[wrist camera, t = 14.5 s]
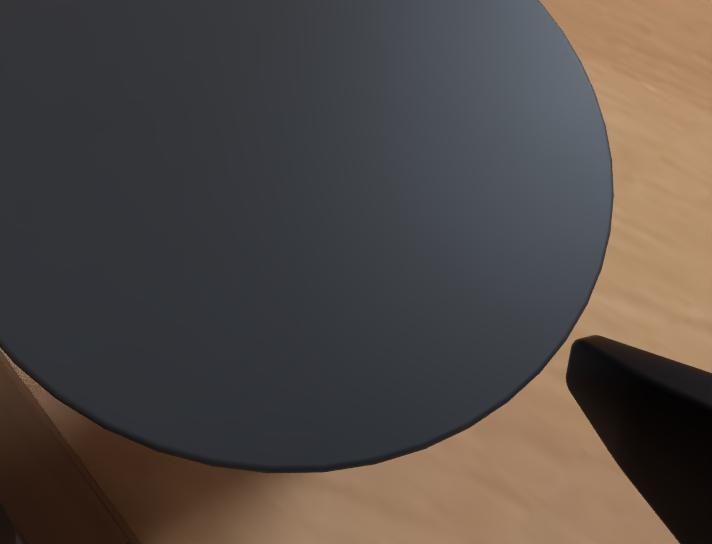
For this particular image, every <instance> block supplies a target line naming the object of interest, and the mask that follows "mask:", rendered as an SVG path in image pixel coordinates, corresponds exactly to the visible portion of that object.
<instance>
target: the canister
mask: <svg viewBox="0 0 712 544" xmlns="http://www.w3.org/2000/svg"><path fill="white" fill-rule="evenodd" d="M613 197H614V194H613V173H612V158H611V153H610V148H609V142H608V137H607V131H606V126H605V123H604V120H603V116H602V113H601V110H600V107H599V104H598V101H597V97H596V94H595V92H594V90H593V87H592V85H591V83H590V81H589V79H588V76H587V74H586V72H585V70H584V68H583V65H582V63H581V61H580V59H579V58H578V56H577V54H576V53H575V51H574V49H573V48H572V46H571V44H570V43H569V41H568V39H567V38H566V36H565V34H564V33H563V31H562V30H561V29H560V27H559V26H558V25H557V23H556V22H555V21H554V19H553V18H552V17H551V15H550V14H549V13H548V11H547V10H546V9H545V7H544V6H543V5H542V4H541V3H540V1H539V0H0V347H1V349H2V350H3V351H4V352H5V353H6V354H7V355H8V357H9V358H10V359H11V360H12V361H13V362H14V364H16V365H17V366H18V367H19V368H20V369H22V370H23V371H24V372H25V373H26V374H27V375H29V376H30V377H31V378H32V379H33V380H35V381H36V382H37V383H38V384H39V385H41V386H42V387H43V388H44V389H45V390H46V391H48V392H49V393H50V394H51V395H52V396H54V397H55V398H56V399H57V400H59V401H61V402H62V403H64V404H65V405H67V406H69V407H70V408H72V409H74V410H75V411H77V412H78V413H80V414H82V415H83V416H85V417H87V418H88V419H90V420H91V421H93V422H95V423H96V424H98V425H100V426H101V427H103V428H104V429H107V430H109V431H111V432H114V433H116V434H118V435H121V436H123V437H125V438H128V439H130V440H132V441H134V442H137V443H139V444H141V445H144V446H146V447H148V448H151V449H153V450H155V451H158V452H162V453H165V454H169V455H173V456H177V457H180V458H184V459H188V460H191V461H195V462H199V463H202V464H206V465H210V466H215V467H223V468H231V469H239V470H247V471H255V472H263V473H310V472H328V471H335V470H341V469H347V468H354V467H360V466H367V465H373V464H378V463H381V462H384V461H387V460H391V459H394V458H397V457H400V456H404V455H407V454H410V453H413V452H417V451H420V450H423V449H426V448H428V447H430V446H432V445H434V444H436V443H439V442H441V441H443V440H445V439H447V438H449V437H451V436H453V435H455V434H458V433H460V432H462V431H464V430H466V429H468V428H470V427H471V426H473V425H474V424H476V423H477V422H479V421H480V420H482V419H483V418H485V417H486V416H488V415H489V414H491V413H492V412H494V411H495V410H497V409H498V408H500V407H501V406H503V405H504V404H506V403H507V402H508V401H509V400H511V399H512V398H513V397H514V396H515V395H516V394H517V393H518V392H519V391H520V390H522V389H523V388H524V387H525V386H526V385H527V384H528V383H529V382H530V381H531V380H533V379H534V378H535V377H536V376H537V375H538V374H539V373H540V372H541V371H542V370H543V368H544V367H545V366H546V365H547V363H548V362H549V361H550V360H551V358H552V357H553V356H554V355H555V354H556V352H557V351H558V350H559V349H560V347H561V346H562V345H563V344H564V342H565V341H566V340H567V338H568V336H569V335H570V333H571V331H572V330H573V328H574V326H575V325H576V323H577V321H578V319H579V318H580V316H581V314H582V313H583V311H584V309H585V307H586V306H587V304H588V301H589V299H590V296H591V294H592V291H593V289H594V286H595V284H596V281H597V279H598V276H599V274H600V271H601V269H602V265H603V261H604V257H605V252H606V248H607V244H608V240H609V236H610V231H611V219H612V208H613Z"/></svg>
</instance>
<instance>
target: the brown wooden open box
mask: <svg viewBox="0 0 712 544" xmlns="http://www.w3.org/2000/svg"><path fill="white" fill-rule="evenodd" d="M0 500H1V502H2V503H3V505H4V507H5V509H6V511H7V512H8V514H9V516H10V518H11V519H12V521H13V523H14V526H15V529H16V544H140V542H139V541H138V540H137V538H136V537H135V536H134V534H133V533H132V531H131V530H130V529H129V527H128V526H127V524H126V523H125V522H124V520H123V519H122V518H121V516H120V515H119V513H118V512H117V511H116V509H115V508H114V507H113V505H112V504H111V502H110V501H109V500H108V498H107V497H106V496H105V494H104V493H103V491H102V490H101V489H100V487H99V486H98V484H97V483H96V482H95V480H94V479H93V478H92V476H91V475H90V473H89V472H88V471H87V469H86V468H85V467H84V465H83V464H82V462H81V461H80V460H79V458H78V457H77V455H76V454H75V453H74V451H73V450H72V449H71V447H70V446H69V444H68V443H67V442H66V440H65V439H64V438H63V436H62V435H61V433H60V432H59V431H58V429H57V428H56V427H55V425H54V424H53V422H52V421H51V420H50V418H49V417H48V415H47V414H46V413H45V411H44V410H43V409H42V407H41V406H40V404H39V403H38V402H37V400H36V399H35V398H34V396H33V395H32V393H31V392H30V391H29V389H28V388H27V387H26V385H25V384H24V382H23V381H22V380H21V378H20V377H19V375H18V374H17V373H16V371H15V370H14V369H13V367H12V366H11V364H10V363H9V362H8V360H7V359H6V358H5V356H4V355H3V353H2V352H1V351H0Z"/></svg>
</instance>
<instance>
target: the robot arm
mask: <svg viewBox="0 0 712 544" xmlns="http://www.w3.org/2000/svg"><path fill="white" fill-rule="evenodd" d="M566 382H567V386H568V388H569V390H570V392H571V394H572V395H573V397H574V398H575V400H576V402H577V403H578V405H579V406H580V408H581V409H582V411H583V412H584V414H585V415H586V417H587V418H588V420H589V422H590V423H591V425H592V426H593V428H594V429H595V431H596V432H597V434H598V435H599V437H600V438H601V440H602V442H603V443H604V445H605V446H606V448H607V449H608V451H609V452H610V454H611V455H612V457H613V458H614V460H615V461H616V462H617V464H618V465H619V467H620V468H621V469H622V471H623V472H624V473H625V475H626V476H627V477H628V479H629V480H630V481H631V482H632V484H633V485H634V486H635V487H636V489H637V490H638V491H639V492H640V494H641V495H642V496H643V498H644V499H645V500H646V501H647V503H648V504H649V505H650V506H651V508H652V509H653V510H654V511H655V513H656V514H657V515H658V516H659V518H660V519H661V520H662V522H663V523H664V524H665V525H666V527H667V528H668V529H669V530H670V532H671V533H672V534H673V535H674V537H675V538H676V539H677V540H678V542H679V543H680V544H712V373H710V372H707V371H704V370H701V369H698V368H695V367H692V366H689V365H686V364H683V363H680V362H677V361H674V360H671V359H668V358H665V357H662V356H659V355H656V354H653V353H650V352H647V351H644V350H641V349H638V348H635V347H632V346H629V345H626V344H623V343H620V342H617V341H614V340H611V339H608V338H605V337H602V336H598V335H593V336H589V337H585V338H580V339H577V340H575V341H574V343H573V344H572V346H571V351H570V356H569V362H568V367H567V373H566ZM0 544H16V529H15V526H14V523H13V521H12V519H11V518H10V516H9V514H8V512H7V511H6V509H5V507H4V505H3V503H2V502H1V500H0Z"/></svg>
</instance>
